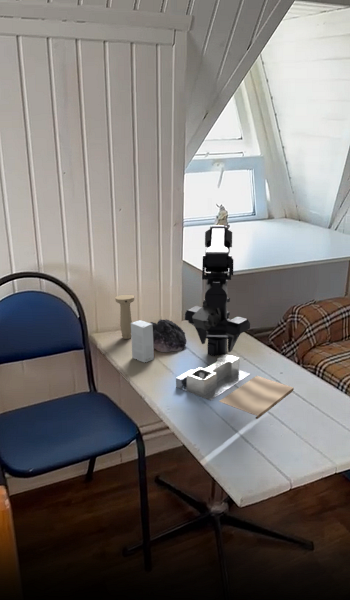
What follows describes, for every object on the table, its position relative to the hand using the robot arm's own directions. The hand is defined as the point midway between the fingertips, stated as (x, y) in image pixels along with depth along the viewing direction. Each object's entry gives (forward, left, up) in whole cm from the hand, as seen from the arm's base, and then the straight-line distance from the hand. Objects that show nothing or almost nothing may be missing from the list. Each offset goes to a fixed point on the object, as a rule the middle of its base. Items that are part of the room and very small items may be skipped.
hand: (216, 347), depth 156 cm
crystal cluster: (-12, -29, -11) cm, 33 cm away
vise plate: (+1, 0, -11) cm, 11 cm away
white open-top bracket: (+1, 0, -10) cm, 10 cm away
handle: (-8, -44, -11) cm, 46 cm away
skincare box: (+1, -28, -11) cm, 30 cm away
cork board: (+1, +14, -11) cm, 18 cm away
